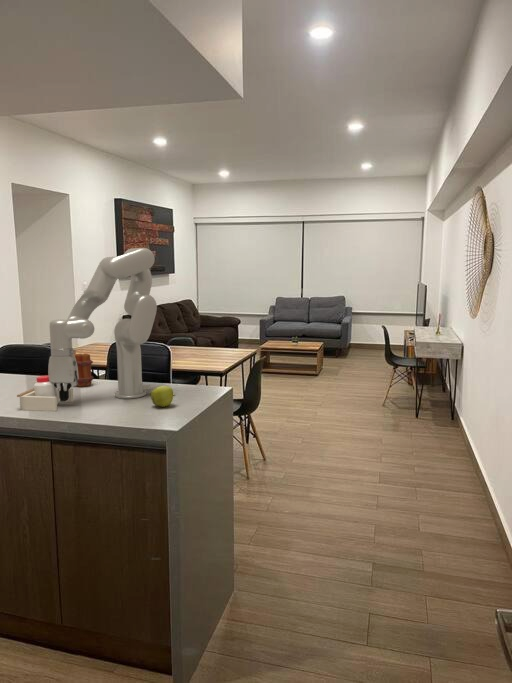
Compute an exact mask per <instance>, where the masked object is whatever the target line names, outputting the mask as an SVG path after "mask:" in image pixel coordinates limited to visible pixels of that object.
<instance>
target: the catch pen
mask: <svg viewBox="0 0 512 683" xmlns="http://www.w3.org/2000/svg"><path fill="white" fill-rule="evenodd" d="M16 397H17V398H19V410H20V411H35V412H36V411H38V412H39V411H41V412H56V411H58V404H57V397H58V403H59V402H61V403H73V402H74V389H73V388H70V389H69V398H68V400H67V401H65V402H64V401H60V398H59V391H58V389H57V397H46V396H35V391H34V387H32V388H30V389H28V390H25V391H24V392H21V393H19V394H17V395H16Z"/></svg>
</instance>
